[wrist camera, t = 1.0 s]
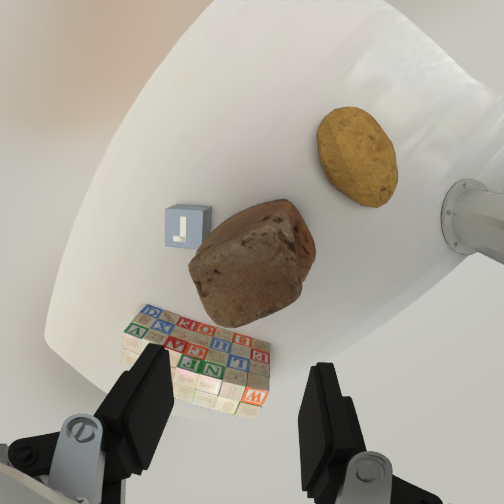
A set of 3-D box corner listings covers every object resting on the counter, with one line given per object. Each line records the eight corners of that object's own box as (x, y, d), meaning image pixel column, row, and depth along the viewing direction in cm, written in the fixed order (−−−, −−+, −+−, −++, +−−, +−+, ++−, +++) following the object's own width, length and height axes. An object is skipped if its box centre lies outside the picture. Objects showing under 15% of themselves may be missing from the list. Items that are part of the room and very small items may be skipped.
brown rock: (240, 267, 42) (214, 343, 22) (217, 221, 40) (167, 264, 21) (309, 236, 40) (342, 293, 20) (287, 187, 38) (303, 200, 19)
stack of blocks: (143, 332, 46) (112, 374, 34) (147, 303, 45) (112, 341, 33) (259, 369, 46) (255, 421, 35) (271, 342, 45) (270, 393, 33)
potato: (350, 227, 30) (422, 197, 27) (301, 114, 28) (376, 87, 25) (340, 215, 39) (397, 192, 36) (302, 128, 37) (360, 106, 34)
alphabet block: (211, 206, 40) (202, 211, 35) (209, 240, 41) (201, 250, 36) (177, 204, 40) (165, 208, 35) (177, 238, 41) (164, 246, 36)
